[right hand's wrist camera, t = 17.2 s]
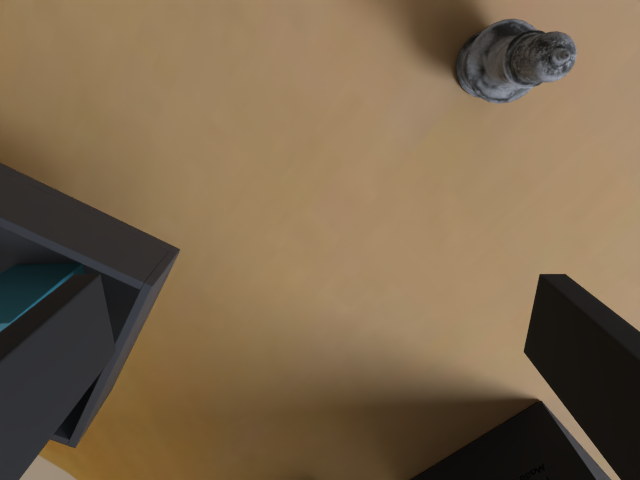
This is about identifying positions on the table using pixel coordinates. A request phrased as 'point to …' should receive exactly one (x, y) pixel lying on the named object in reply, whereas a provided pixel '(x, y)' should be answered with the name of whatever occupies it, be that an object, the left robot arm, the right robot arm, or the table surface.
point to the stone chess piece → (513, 60)
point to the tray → (97, 258)
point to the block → (30, 287)
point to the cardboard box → (521, 453)
